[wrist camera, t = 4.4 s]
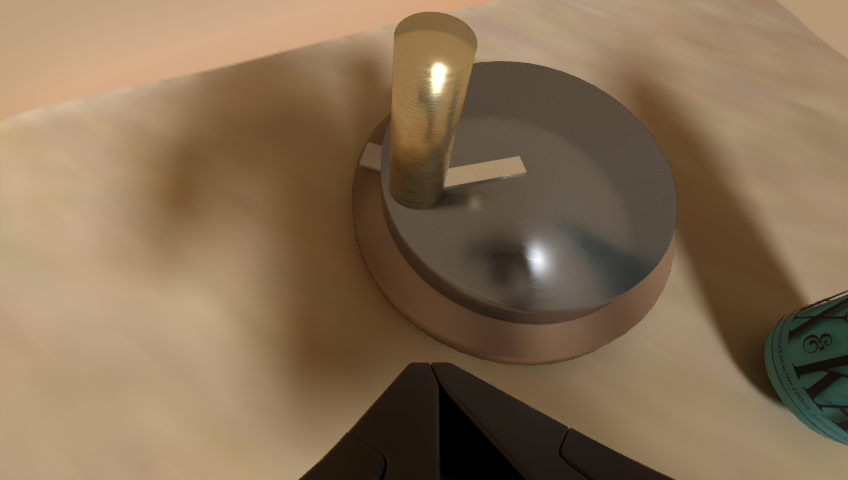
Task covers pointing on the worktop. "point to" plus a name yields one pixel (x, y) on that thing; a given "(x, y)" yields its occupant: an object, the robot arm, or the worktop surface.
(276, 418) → the worktop surface
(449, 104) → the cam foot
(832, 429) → the beverage bottle
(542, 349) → the stand base
